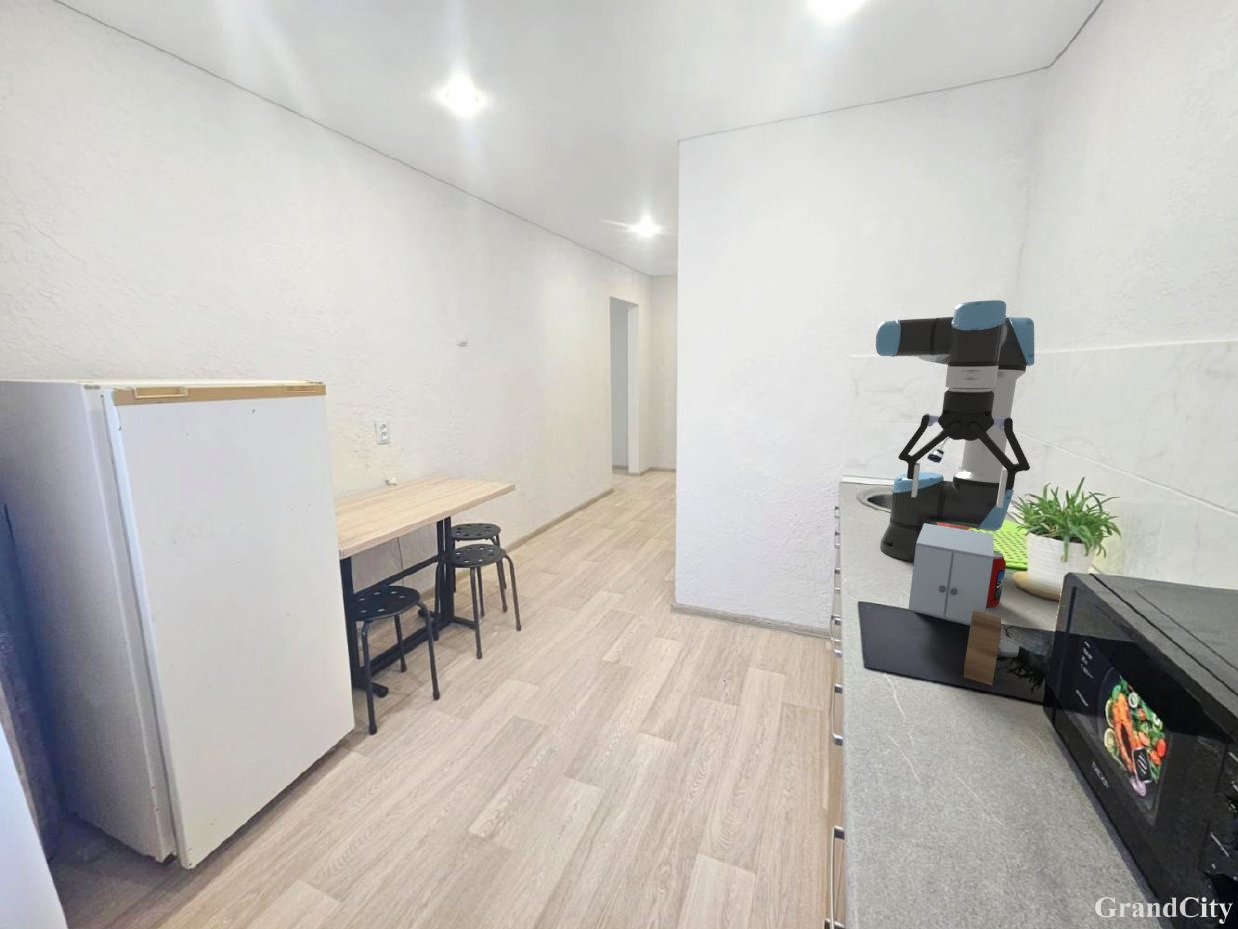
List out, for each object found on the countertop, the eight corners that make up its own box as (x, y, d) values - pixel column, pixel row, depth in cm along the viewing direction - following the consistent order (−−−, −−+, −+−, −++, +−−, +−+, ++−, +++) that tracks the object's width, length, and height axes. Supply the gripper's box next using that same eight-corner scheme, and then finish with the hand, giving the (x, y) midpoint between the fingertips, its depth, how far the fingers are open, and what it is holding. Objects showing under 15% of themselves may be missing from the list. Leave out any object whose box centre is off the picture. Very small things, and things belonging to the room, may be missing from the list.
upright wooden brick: (966, 633, 99) (973, 583, 97) (990, 639, 97) (999, 588, 94) (963, 676, 86) (972, 620, 83) (992, 685, 83) (1001, 627, 81)
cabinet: (913, 607, 109) (924, 523, 105) (979, 624, 102) (993, 534, 98) (904, 638, 97) (915, 544, 93) (978, 659, 90) (993, 558, 86)
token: (984, 640, 97) (986, 631, 96) (1016, 648, 94) (1018, 639, 93) (985, 652, 93) (986, 643, 92) (1018, 661, 90) (1020, 652, 89)
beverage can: (1005, 610, 108) (1014, 559, 105) (971, 607, 109) (979, 557, 107) (989, 596, 114) (997, 547, 112) (957, 593, 116) (964, 546, 113)
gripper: (889, 390, 93) (879, 496, 98) (1063, 392, 79) (1041, 516, 84) (894, 387, 99) (885, 487, 104) (1057, 389, 85) (1037, 504, 90)
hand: (955, 500), depth 94 cm, fingers open, 13 cm apart
